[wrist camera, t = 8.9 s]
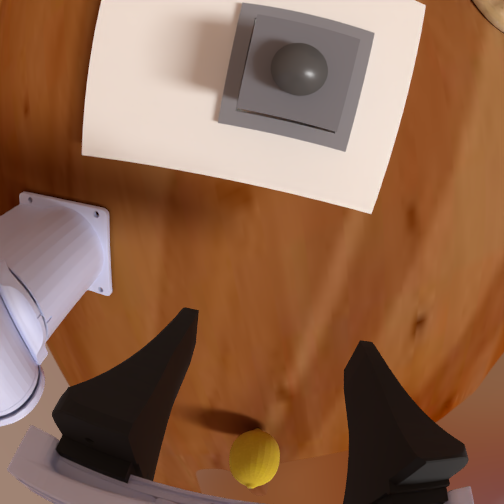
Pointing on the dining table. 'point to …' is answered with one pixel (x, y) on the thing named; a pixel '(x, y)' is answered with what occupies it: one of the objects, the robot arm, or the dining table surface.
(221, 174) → the socket board
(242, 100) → the plug
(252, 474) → the lemon
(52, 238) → the robot arm
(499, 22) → the hand bell
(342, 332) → the dining table surface
